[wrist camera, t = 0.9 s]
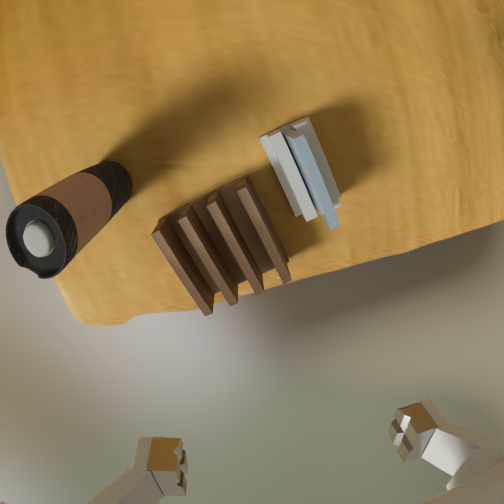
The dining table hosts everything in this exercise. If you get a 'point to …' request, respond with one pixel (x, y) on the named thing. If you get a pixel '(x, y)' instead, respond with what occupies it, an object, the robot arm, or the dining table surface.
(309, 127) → the plate stand
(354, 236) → the dining table surface
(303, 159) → the side plate
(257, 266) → the dish rack
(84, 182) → the travel mug
